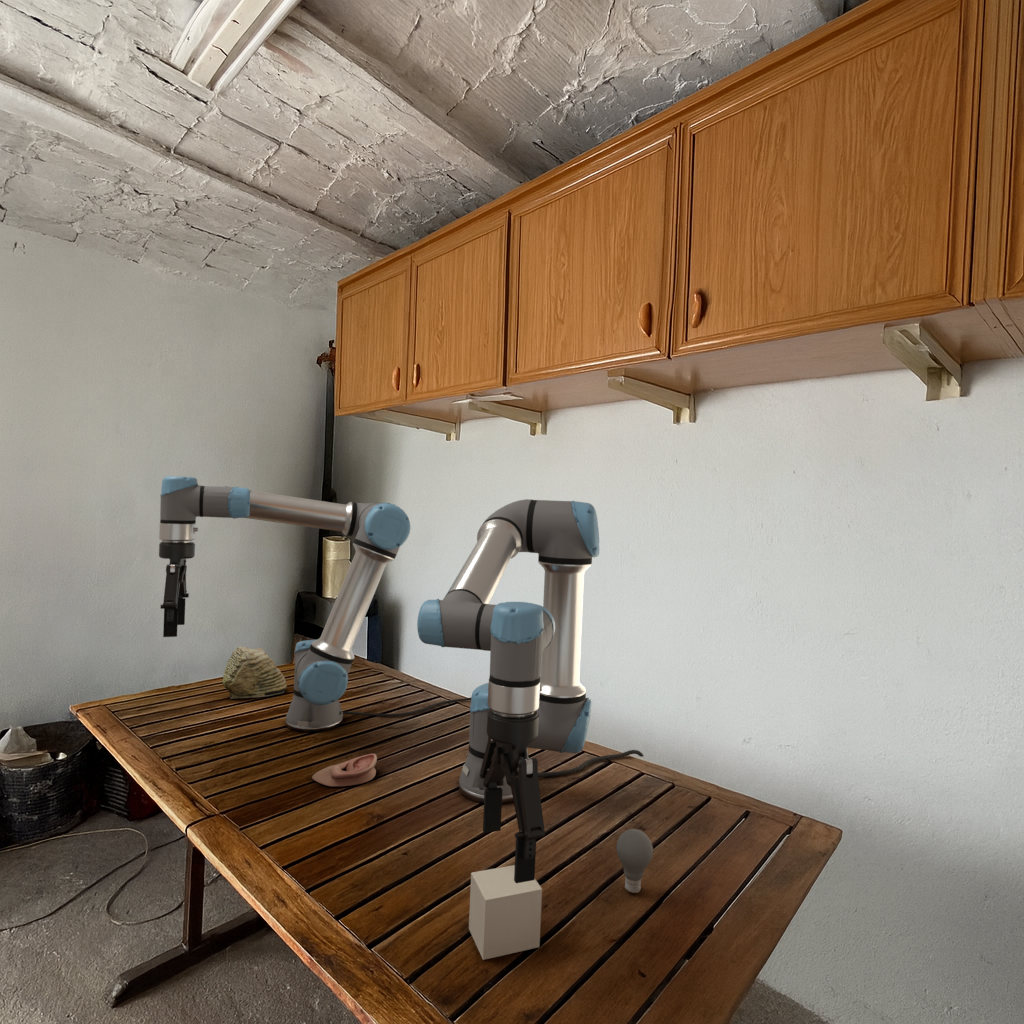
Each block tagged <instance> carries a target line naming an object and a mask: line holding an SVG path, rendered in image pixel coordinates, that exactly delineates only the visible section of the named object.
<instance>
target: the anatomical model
mask: <svg viewBox="0 0 1024 1024" xmlns="http://www.w3.org/2000/svg"><path fill="white" fill-rule="evenodd" d="M377 761H378V756H377V754H376V753H368V754H363V755H360V756H357V757H354V758H351V759H348V760H346V761H343V762H340V763H337V764H332V765H329V766H326V767H324V768H322V769H320V770H318V771H317V772H315V773H314V774H313V775H312V776H311V779H312V780H313V781H315V782H317V783H318V784H321V785H323V786H327V787H333V788H334V787H347V786H356V785H361V784H364V783H367V782H369V781H372V780H373V779H374V778H375V776H376V773H377V770H376V768H375V767H376V764H377Z"/></svg>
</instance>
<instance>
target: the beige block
mask: <svg viewBox="0 0 1024 1024" xmlns="http://www.w3.org/2000/svg"><path fill="white" fill-rule="evenodd" d="M514 870H515V864H512V865H507V866H501V867H496V868H489V869H486V870H485V869H483V870H478V871H473V872H471V873H470V887H469V888H470V892H469V912H468V913H469V914H468V915H469V916H468V930H469V933H470V934H471V937H472V939H473V941H474V944H475V946H476V948H477V950H478V952H479V954H480V956H481V959H482V960H483V961H485V960H489V959H490V960H491V959H493V958H498V957H503V956H506V955H507V956H508V955H511V954H516V953H519V952H524V951H528V950H532V949H533V950H534V949H537V948H540V945H541V944H540V943H541V924H542V923H541V921H542V901H543V899H542V898H543V888H542V887H541V885H540V884H539V882H538V881H537V879H536V878H534V880H532V881H527V882H521V883H515V881H514Z"/></svg>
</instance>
